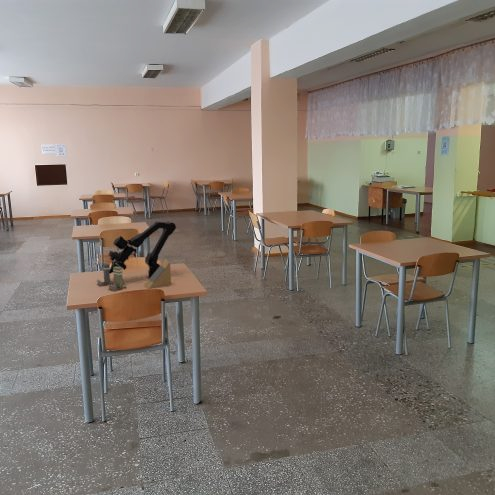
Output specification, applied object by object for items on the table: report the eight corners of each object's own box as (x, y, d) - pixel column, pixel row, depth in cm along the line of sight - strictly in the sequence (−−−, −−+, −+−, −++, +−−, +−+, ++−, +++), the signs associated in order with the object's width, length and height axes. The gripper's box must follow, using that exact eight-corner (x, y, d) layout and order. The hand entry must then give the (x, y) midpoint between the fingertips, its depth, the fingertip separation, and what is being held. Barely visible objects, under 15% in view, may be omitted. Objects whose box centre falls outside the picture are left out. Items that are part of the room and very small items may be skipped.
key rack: (109, 281, 302) (108, 277, 301) (127, 288, 287) (127, 283, 286) (95, 284, 295) (95, 280, 295) (113, 291, 280) (113, 287, 280)
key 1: (108, 281, 299) (106, 262, 297) (110, 282, 295) (109, 264, 292) (104, 281, 298) (102, 263, 295) (106, 283, 294) (104, 264, 291)
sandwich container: (142, 285, 292) (141, 262, 289) (166, 282, 300) (165, 259, 297) (147, 289, 285) (146, 265, 282) (171, 285, 293) (170, 261, 290)
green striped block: (117, 285, 289) (116, 266, 287) (123, 286, 287) (122, 267, 284) (114, 286, 287) (112, 267, 285) (120, 287, 285) (118, 268, 282)
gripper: (111, 243, 303) (95, 262, 300) (120, 248, 287) (103, 268, 284) (124, 254, 309) (108, 272, 305) (133, 259, 293) (116, 279, 290)
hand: (109, 273), depth 296 cm, fingers closed
